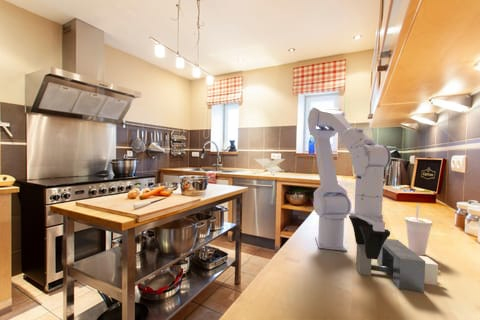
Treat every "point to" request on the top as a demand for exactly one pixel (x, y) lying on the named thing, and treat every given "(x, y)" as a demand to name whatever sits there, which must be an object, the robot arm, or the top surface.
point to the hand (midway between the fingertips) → (366, 251)
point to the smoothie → (418, 233)
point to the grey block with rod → (365, 267)
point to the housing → (403, 265)
